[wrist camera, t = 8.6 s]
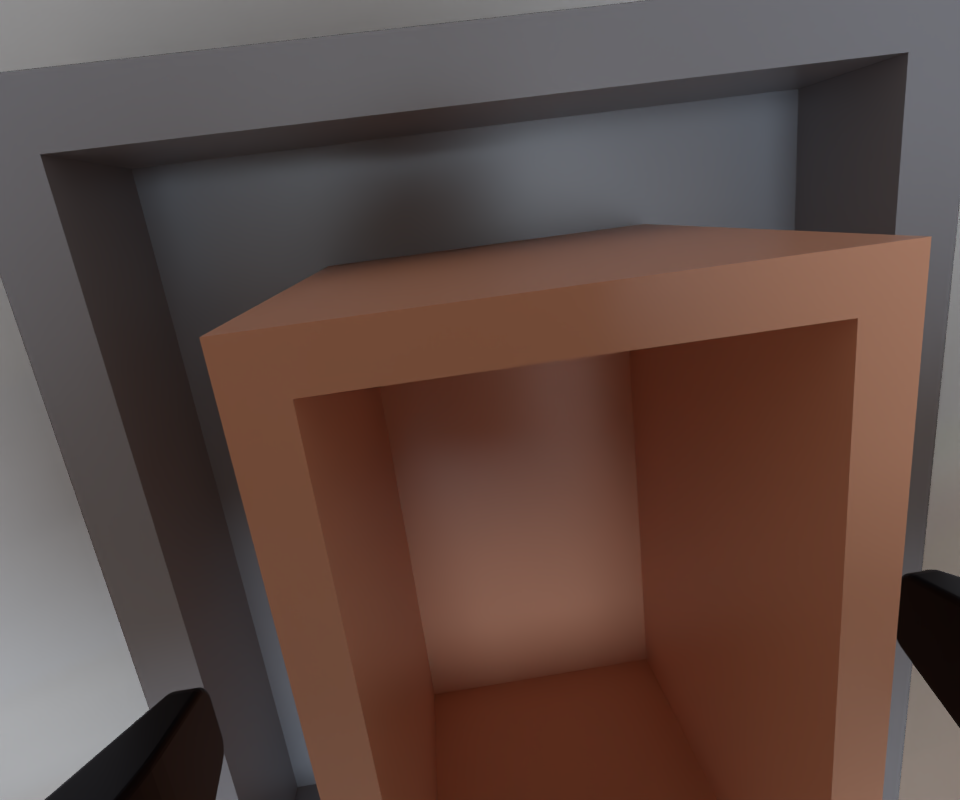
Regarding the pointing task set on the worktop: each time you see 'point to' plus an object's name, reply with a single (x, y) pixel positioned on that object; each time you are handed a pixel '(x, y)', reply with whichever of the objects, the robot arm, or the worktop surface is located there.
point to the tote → (586, 511)
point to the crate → (415, 244)
